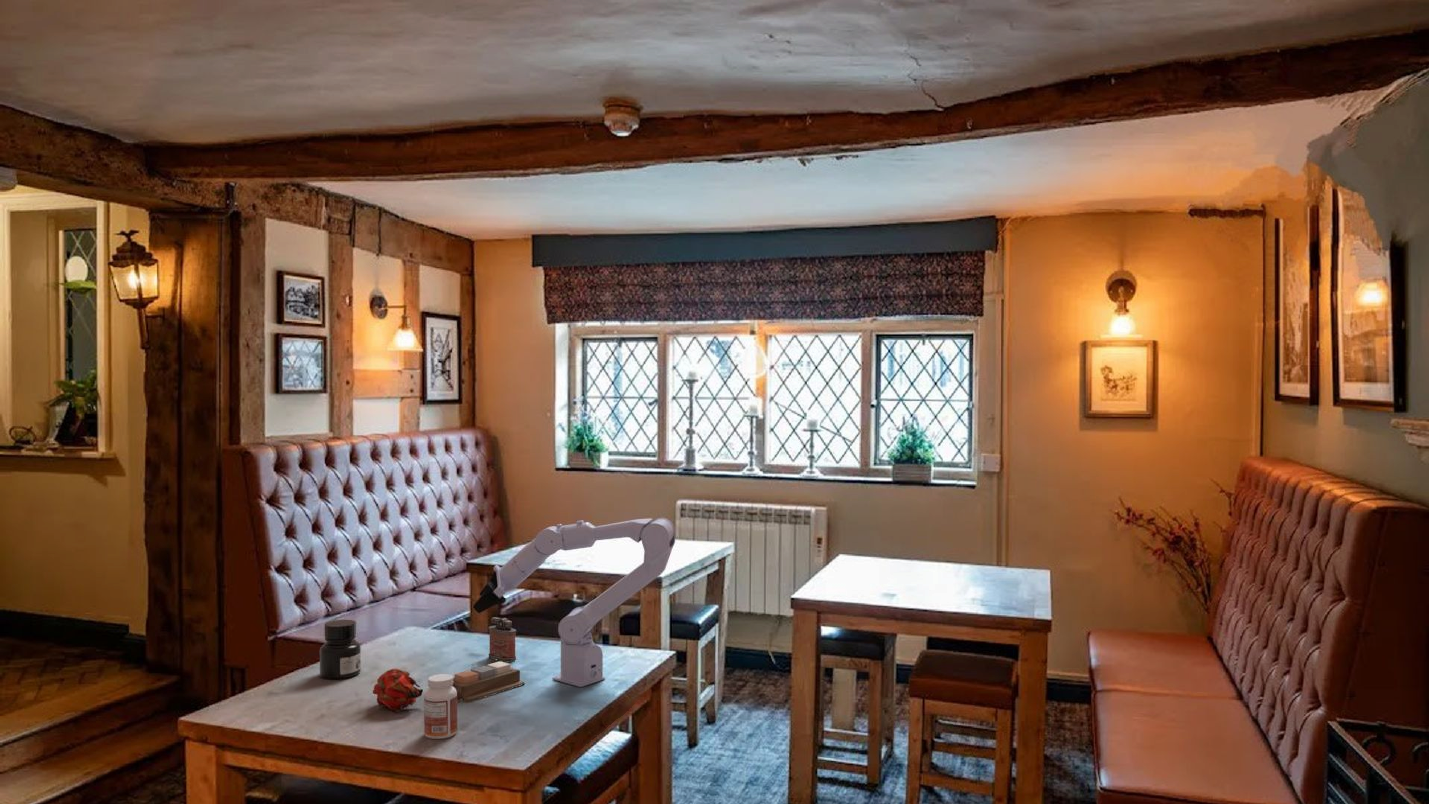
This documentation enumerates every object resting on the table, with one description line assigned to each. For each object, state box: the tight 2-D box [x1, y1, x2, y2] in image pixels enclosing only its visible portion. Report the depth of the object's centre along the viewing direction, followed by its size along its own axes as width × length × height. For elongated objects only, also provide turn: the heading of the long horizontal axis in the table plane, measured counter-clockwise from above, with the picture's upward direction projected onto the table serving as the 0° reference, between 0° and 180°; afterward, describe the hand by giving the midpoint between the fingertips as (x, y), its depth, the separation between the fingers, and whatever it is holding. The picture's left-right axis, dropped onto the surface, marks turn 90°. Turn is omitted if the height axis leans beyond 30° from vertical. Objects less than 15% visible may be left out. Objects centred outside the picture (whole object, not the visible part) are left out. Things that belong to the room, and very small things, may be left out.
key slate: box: [470, 665, 495, 681], centre depth 218 cm, size 4×4×2 cm
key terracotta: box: [453, 669, 478, 685], centre depth 214 cm, size 4×4×2 cm
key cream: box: [486, 661, 511, 676], centre depth 221 cm, size 4×4×2 cm
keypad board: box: [452, 667, 525, 703], centre depth 218 cm, size 10×15×3 cm, turn 142°
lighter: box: [488, 616, 517, 662], centre depth 241 cm, size 8×3×10 cm, turn 58°
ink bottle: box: [319, 619, 362, 680], centre depth 228 cm, size 10×9×12 cm
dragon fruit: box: [372, 668, 424, 712], centre depth 205 cm, size 8×8×12 cm
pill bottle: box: [423, 673, 458, 740], centre depth 190 cm, size 6×6×11 cm
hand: (479, 603), depth 228 cm, fingers open, 7 cm apart
